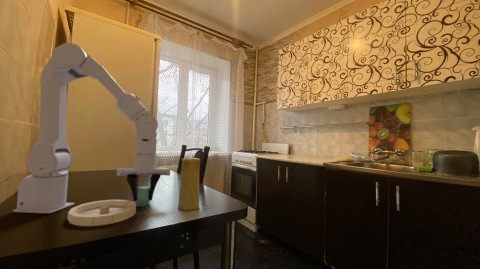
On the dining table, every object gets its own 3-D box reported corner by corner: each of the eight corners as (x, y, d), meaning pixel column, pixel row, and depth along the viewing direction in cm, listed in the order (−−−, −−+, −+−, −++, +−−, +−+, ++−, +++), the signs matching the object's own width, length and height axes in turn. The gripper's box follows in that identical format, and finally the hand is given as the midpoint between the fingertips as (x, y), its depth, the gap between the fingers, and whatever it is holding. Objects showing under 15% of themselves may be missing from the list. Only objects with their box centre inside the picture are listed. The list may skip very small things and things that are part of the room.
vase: (194, 212, 58) (196, 160, 59) (173, 209, 59) (176, 158, 60) (202, 205, 64) (204, 158, 65) (183, 203, 65) (186, 157, 66)
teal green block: (133, 206, 61) (134, 188, 61) (139, 202, 65) (140, 186, 65) (146, 206, 61) (147, 189, 61) (151, 203, 65) (152, 186, 65)
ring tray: (51, 224, 46) (52, 215, 46) (96, 205, 60) (96, 198, 60) (115, 227, 46) (115, 218, 46) (144, 207, 60) (145, 200, 60)
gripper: (114, 154, 58) (111, 204, 57) (170, 155, 62) (168, 202, 61) (121, 153, 65) (118, 198, 64) (171, 154, 69) (169, 196, 68)
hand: (143, 199), depth 63 cm, fingers closed on teal green block, 4 cm apart
